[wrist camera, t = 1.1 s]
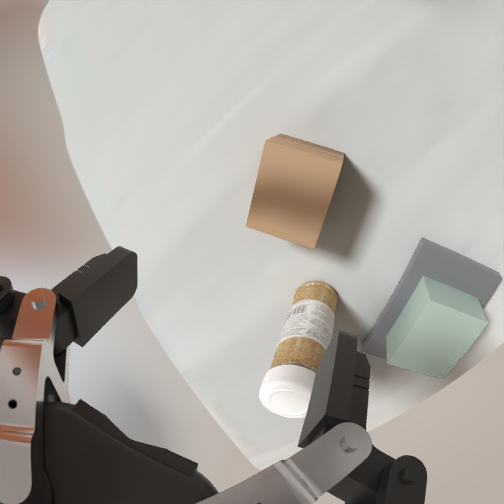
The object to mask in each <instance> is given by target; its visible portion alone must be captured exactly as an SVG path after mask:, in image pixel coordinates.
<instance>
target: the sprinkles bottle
mask: <svg viewBox="0 0 504 504" xmlns="http://www.w3.org/2000/svg"><path fill="white" fill-rule="evenodd" d="M337 303H338V297H337V295H336V293H335V291H334V289H333V288H332V287H331V286H329V285H328V284H326V283H324V282H319V281H310V282H307V283H305V284H302V285H301V286H300V287H299V288H298V289H297V291H296V293H295V296H294V302H293V306H292V308H291V309H290V311H289V314H288V317H287V320H286V322H285V325H284V328H283V331H282V334H281V337H280V339H279V342H278V345H277V348H276V353H275V356H274V359H273V362H272V365H271V367H270V369H269V370H268V372H267V373H266V375H265V377H264V380H263V382H262V385H261V388H260V391H259V397H260V400H261V402H262V404H263V405H264V406H265V407H266V408H267V409H268V410H270V411H271V412H273V413H275V414H277V415H280V416H283V417H288V418H304V417H306V413H307V409H308V405H309V401H310V397H311V392H312V388H313V384H314V379H315V375H316V371H317V368H318V365H319V362H320V360H321V358H322V356H323V354H324V353H325V351H326V349H327V347H328V346H329V344H330V342H331V340H332V335H333V328H334V321H335V320H334V317H335V310H336V307H337Z"/></svg>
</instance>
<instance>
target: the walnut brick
mask: <svg viewBox="0 0 504 504" xmlns="http://www.w3.org/2000/svg"><path fill="white" fill-rule="evenodd" d="M343 159H344V153H342V152H339V151H336V150H333V149H330V148H327V147H324V146H320V145H317V144H314V143H311V142H308V141H304V140H301V139H297V138H294V137H291V136H287V135H284V134H279V135H277V136H274V137H272V138H270V139H268V140H266V141H265V146H264V150H263V154H262V158H261V163H260V167H259V171H258V176H257V180H256V184H255V189H254V193H253V197H252V202H251V206H250V210H249V215H248V219H247V223H246V227H249V228H252V229H255V230H258V231H261V232H264V233H267V234H270V235H272V236H275V237H278V238H281V239H284V240H287V241H290V242H293V243H296V244H298V245H301V246H304V247H307V248H310V249H313V250H314V248H315V245H316V242H317V240H318V237H319V234H320V231H321V228H322V225H323V222H324V219H325V216H326V214H327V211H328V208H329V205H330V202H331V199H332V196H333V193H334V190H335V186H336V183H337V180H338V177H339V174H340V171H341V168H342V165H343Z"/></svg>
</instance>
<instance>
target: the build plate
mask: <svg viewBox="0 0 504 504" xmlns="http://www.w3.org/2000/svg"><path fill="white" fill-rule="evenodd" d="M501 279H502V277H501V275H500V274H499V272H497V271H494V270H492V269H490V268H488V267H486V266H484V265H482V264H480V263H478V262H476V261H473V260H471V259H469V258H467V257H465V256H463V255H460V254H458V253H456V252H454V251H452V250H449V249H447V248H445V247H443V246H440V245H438V244H436V243H433V242H431V241H429V240H426V239H424V238H421V240H420V242H419V244H418V246H417V248H416V250H415V253H414V255H413V256H412V258H411V260H410V262H409V264H408V266H407V268H406V270H405V272H404V274H403V276H402V278H401V280H400V281H399V283H398V285H397V287H396V289H395V291H394V292H393V294H392V296H391V298H390V299H389V301H388V303H387V305H386V306H385V308H384V310H383V311H382V313H381V315H380V317H379V318H378V320H377V322H376V323H375V325H374V326H373V328H372V330H371V331H370V333H369V335H368V336H367V338H366V339H365V341H364V342H363V344H362V351H364V352H367V353H370V354H373V355H376V356H379V357H383V358H386V359H387V364H390V365H393V366H397V367H400V368H404V369H407V370H410V371H414V372H417V373H421V374H424V375H428V376H431V377H435V378H439V379H443V378H444V377H445V376H446V375H447V374H448V373H449V372H450V370H451V369H452V368H453V367H454V366H455V365H456V363H457V362H458V361H459V360H460V359H461V357H462V356H463V355H464V354H465V353H466V351H467V350H468V349H469V348H470V346H471V345H472V344H473V343H474V341H475V340H476V339H477V337H478V336H479V335H480V333H481V332H482V331H483V329H484V328H485V327H486V325H487V324H488V321H487V318H486V316H485V313H484V311H483V308H484V306H485V305H486V303H487V302H488V300H489V298H490V297H491V295H492V294H493V292H494V291H495V289H496V287H497V286H498V284H499V282H500V281H501Z"/></svg>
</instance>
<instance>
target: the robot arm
mask: <svg viewBox="0 0 504 504" xmlns="http://www.w3.org/2000/svg"><path fill="white" fill-rule="evenodd" d="M136 289H137V254H136V253H135V252H132V251H130V250H128V249H125V248H123V247H121V246H119V247H116V248H115V249H114V250H112V251H111V252H109V253H108V254H102V255H99V256H96V257H94V258H92V259H91V260H89V261H88V262H87V263H85V265H84V266H81V267H80V268H79V269H78V270H77V271H75V272H73V273H72V274H71V275H69V276H68V277H67V278H65V279H64V280H63V281H62V282H60V283H59V284H58V285H56V286H55V287H54V288H53V289H51V290H49V289H46V288H37V289H34V290H31V291H30V292H28V293H27V294H26V293H22V292H18V291H15V290H13V287H12V284H11V281H10V279H8V278H7V277H3V276H0V504H313V503H314V502H315V501H316V500H317V499H318V498H319V497H320V496H321V495H323V494H324V493H325V492H329V493H330V494H332V495H334V496H336V497H337V498H339V499H341V500H343V501H345V504H424V502H425V493H426V484H427V471H426V468H425V466H424V465H423V463H422V462H421V461H420V460H419V459H417V458H416V457H414V456H408V455H405V456H401V457H399V458H398V459H394V458H392V457H390V456H388V455H387V454H385V453H383V452H381V451H380V450H378V449H377V448H376V447H374V446H373V444H372V441H371V438H370V435H369V434H368V432H367V431H366V420H367V409H368V396H369V391H368V389H369V379H370V365H369V362H368V360H367V357H366V355H365V354H362V353H359V352H357V337H356V336H354V335H351V334H348V333H345V332H342V331H339V330H338V331H337V332H336V333H335V335H334V336H333V338H332V340H331V342H330V344H329V346H328V347H327V349H326V351H325V353H324V354H323V356H322V358H321V360H320V362H319V365H318V368H317V371H316V375H315V379H314V384H313V388H312V392H311V397H310V401H309V405H308V409H307V413H306V417H305V421H304V425H303V428H302V432H301V436H300V440H299V443H298V447H301V448H304V449H302V450H301V451H299V452H297V453H296V454H294V455H293V456H291V457H290V458H288V459H286V460H281V461H279V462H277V463H275V464H273V465H271V466H269V467H268V468H266V469H264V470H262V471H261V472H259V473H257V474H255V475H253V476H252V477H250V478H248V479H246V480H244V481H242V482H240V483H238V484H236V485H234V486H232V487H231V488H229V489H226V490H224V491H222V492H220V493H219V492H218V491H217V490H216V488H215V487H214V486H213V484H212V483H211V482H210V481H209V480H208V479H207V478H205V476H203V475H202V474H201V473H200V472H198V471H197V467H198V463H196V462H193V461H191V460H189V459H186V458H184V457H182V456H180V455H178V454H175V453H174V452H171V451H169V450H167V449H165V448H160V447H156V446H152V445H149V444H145V443H141V442H137V441H134V440H131V439H130V438H128V437H127V436H126V435H125V434H124V433H123V432H122V431H120V430H119V429H118V428H117V427H116V426H115V425H114V424H113V423H112V422H111V421H110V420H109V419H108V418H107V416H106V415H104V414H102V413H101V412H99V411H98V410H96V409H95V408H93V407H91V406H90V405H89V404H87V403H86V402H84V401H83V400H81V399H80V400H79V401H78V402H77V403H76V405H74V404H71V401H70V396H69V392H68V375H69V356H70V347H69V345H70V344H71V343H72V342H73V341H74V342H75V343H77V344H78V345H80V346H81V347H83V346H84V345H85V344H86V343H87V342H88V341H89V340H90V339H91V338H92V337H93V336H94V335H95V334H96V333H97V332H98V331H99V330H100V329H101V328H102V327H103V326H104V325H105V324H106V323H107V322H108V321H109V320H110V319H111V317H113V316H114V315H115V314H116V312H118V311H119V310H120V309H121V308H122V307H123V306H124V305H125V304H126V303H127V302H128V301H129V300H130V299H131V298H132V296H133V295H134V293H135V291H136Z"/></svg>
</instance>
